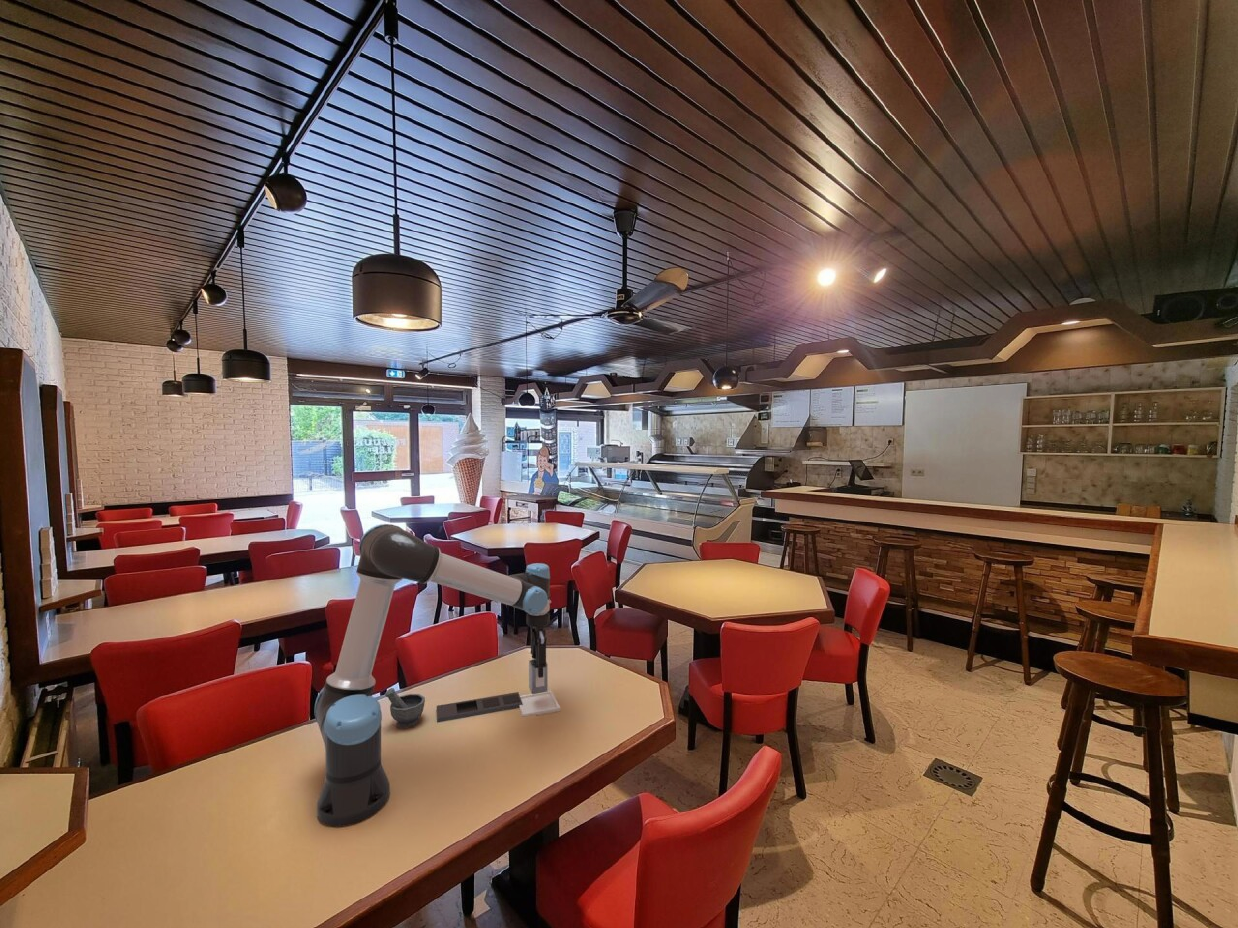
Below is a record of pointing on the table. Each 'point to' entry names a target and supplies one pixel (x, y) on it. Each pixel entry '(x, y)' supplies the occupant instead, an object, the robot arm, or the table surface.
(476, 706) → the rack rail
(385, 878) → the table surface
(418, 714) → the mortar and pestle
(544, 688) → the gray rectangular block
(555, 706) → the parts tray
